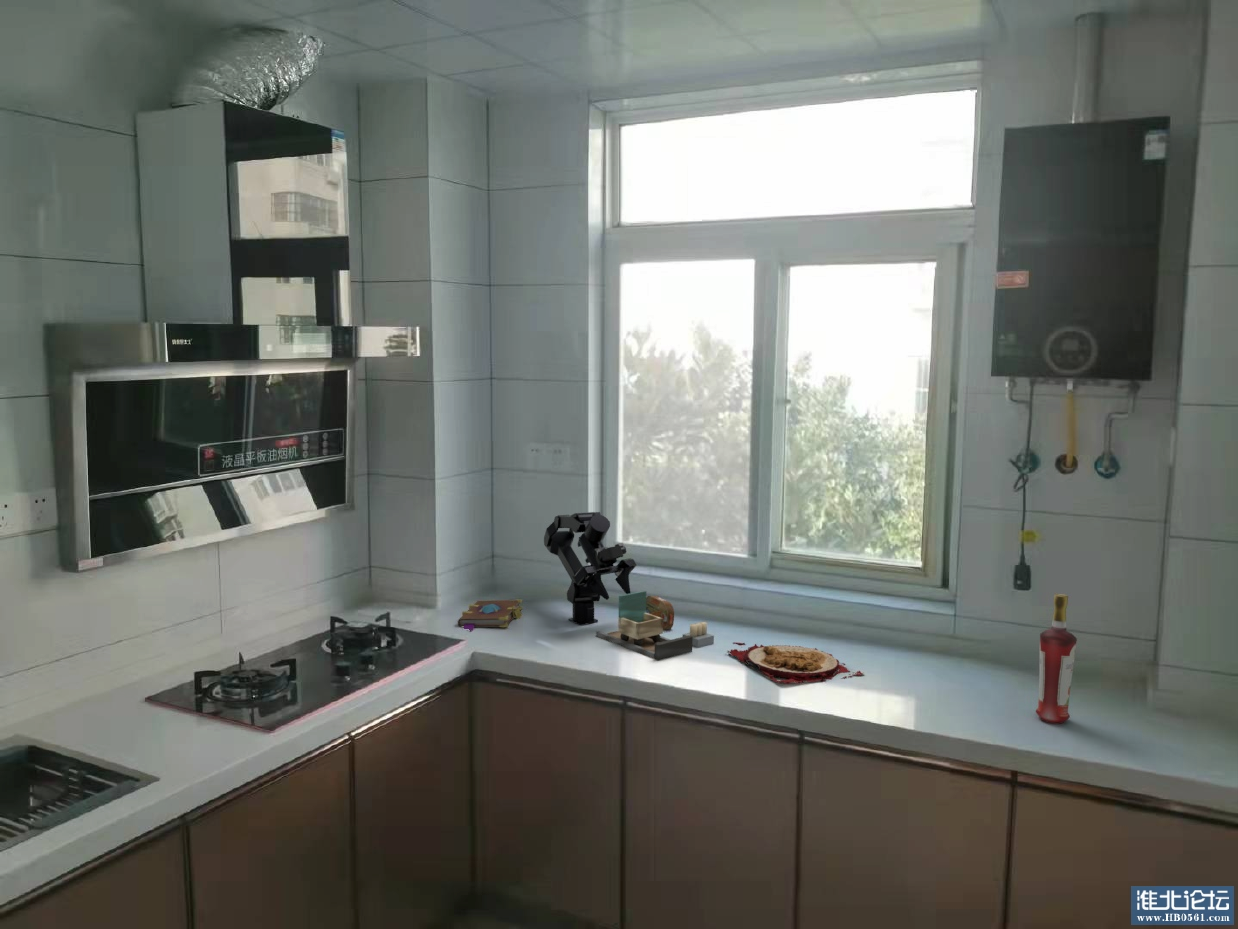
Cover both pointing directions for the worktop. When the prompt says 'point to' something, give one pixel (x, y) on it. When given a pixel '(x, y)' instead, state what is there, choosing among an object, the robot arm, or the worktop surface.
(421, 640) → the worktop surface
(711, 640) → the grey block with cylinders
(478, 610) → the book
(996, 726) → the worktop surface
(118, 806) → the worktop surface
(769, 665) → the plate with food
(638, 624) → the cart
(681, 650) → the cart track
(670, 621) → the tin
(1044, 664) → the liquor
